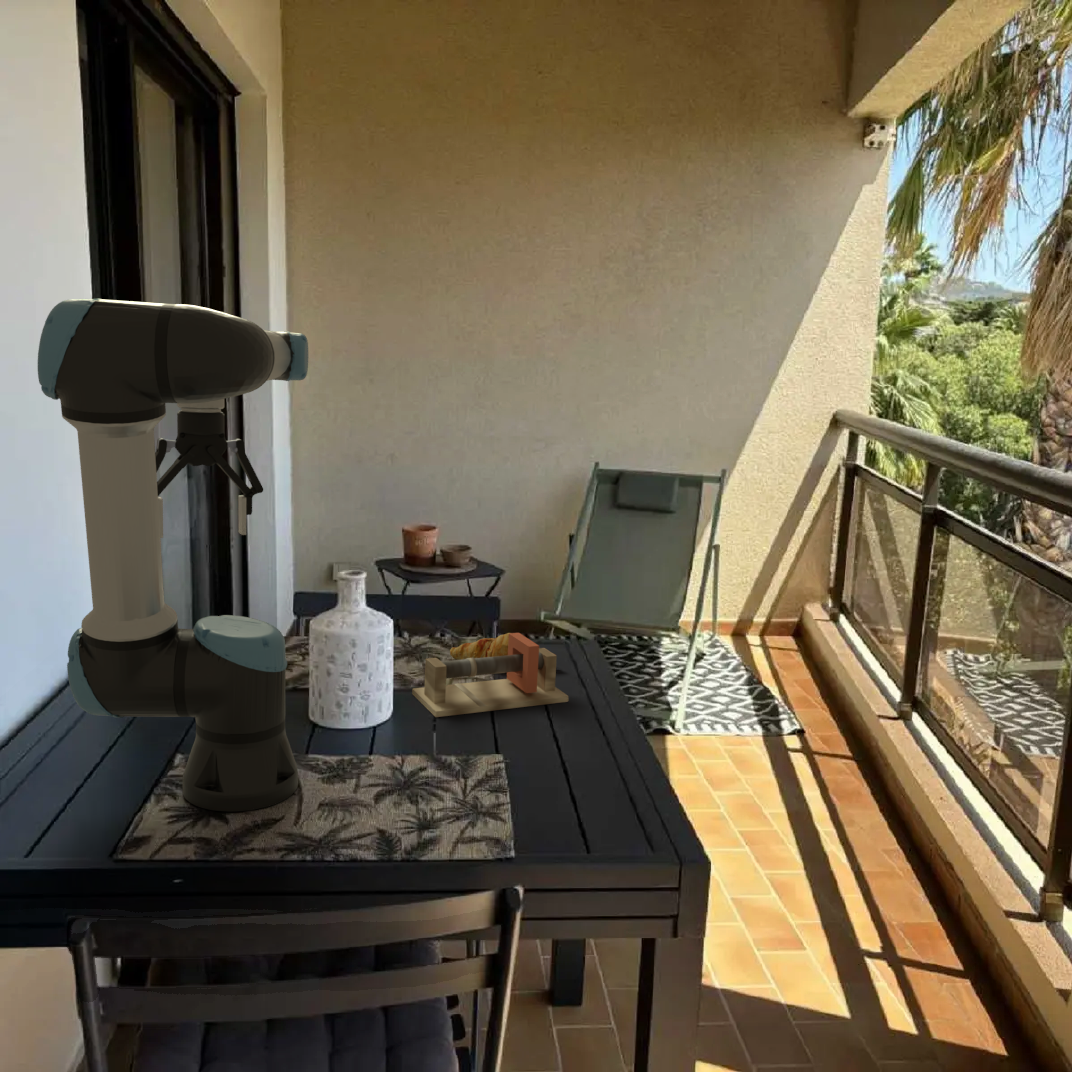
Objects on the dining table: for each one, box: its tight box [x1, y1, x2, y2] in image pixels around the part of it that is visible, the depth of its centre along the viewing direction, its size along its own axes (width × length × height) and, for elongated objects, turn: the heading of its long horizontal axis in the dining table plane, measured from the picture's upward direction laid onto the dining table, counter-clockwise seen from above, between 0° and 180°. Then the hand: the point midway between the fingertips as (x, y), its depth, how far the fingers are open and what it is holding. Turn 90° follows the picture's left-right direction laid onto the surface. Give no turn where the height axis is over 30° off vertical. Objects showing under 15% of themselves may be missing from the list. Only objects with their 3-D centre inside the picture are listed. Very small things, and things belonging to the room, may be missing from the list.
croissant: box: [449, 632, 557, 660], centre depth 197 cm, size 21×10×8 cm, turn 84°
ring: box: [506, 632, 540, 693], centre depth 180 cm, size 2×8×8 cm, turn 26°
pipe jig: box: [411, 647, 569, 718], centre depth 178 cm, size 25×12×8 cm, turn 116°
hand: (201, 535), depth 172 cm, fingers open, 13 cm apart
